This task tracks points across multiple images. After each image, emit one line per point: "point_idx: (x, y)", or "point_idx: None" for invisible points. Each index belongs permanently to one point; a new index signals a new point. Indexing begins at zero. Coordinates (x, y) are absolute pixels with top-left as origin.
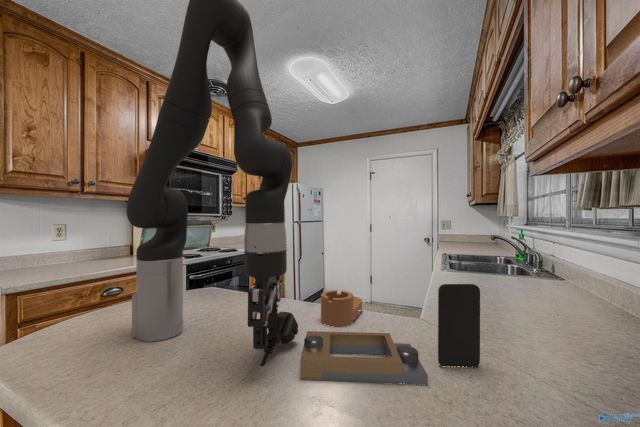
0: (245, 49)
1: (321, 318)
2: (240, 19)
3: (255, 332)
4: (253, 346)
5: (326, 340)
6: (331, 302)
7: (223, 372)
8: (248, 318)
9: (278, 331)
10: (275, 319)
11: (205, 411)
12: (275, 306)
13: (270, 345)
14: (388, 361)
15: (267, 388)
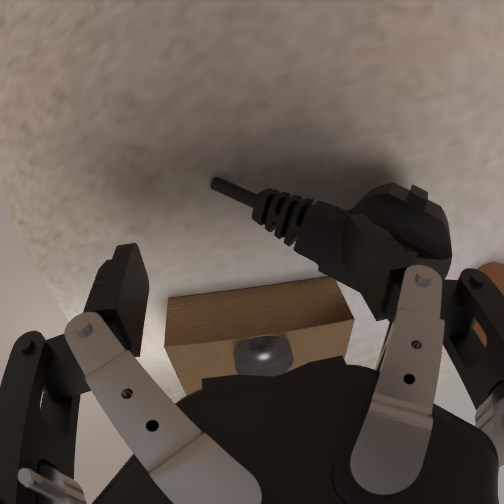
0: None
1: (486, 273)
2: None
3: (87, 310)
4: (117, 247)
5: (287, 370)
6: (486, 339)
7: (166, 62)
8: (6, 374)
9: (320, 265)
10: (356, 279)
11: (5, 136)
12: (389, 325)
13: (268, 225)
14: None
15: (123, 235)
